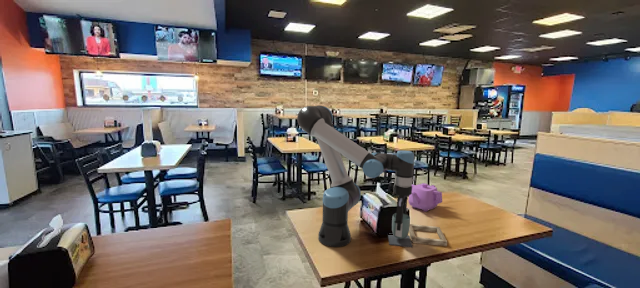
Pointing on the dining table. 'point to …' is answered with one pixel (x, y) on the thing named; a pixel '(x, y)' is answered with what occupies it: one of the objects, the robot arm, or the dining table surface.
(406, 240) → the coaster
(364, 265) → the dining table surface
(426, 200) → the teapot
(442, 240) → the holder
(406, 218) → the cup
